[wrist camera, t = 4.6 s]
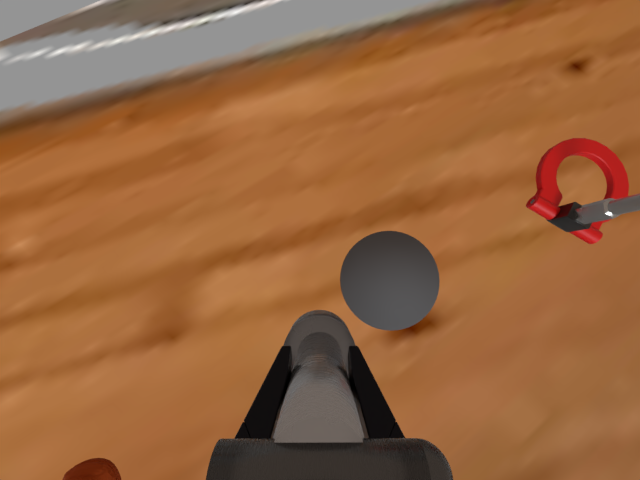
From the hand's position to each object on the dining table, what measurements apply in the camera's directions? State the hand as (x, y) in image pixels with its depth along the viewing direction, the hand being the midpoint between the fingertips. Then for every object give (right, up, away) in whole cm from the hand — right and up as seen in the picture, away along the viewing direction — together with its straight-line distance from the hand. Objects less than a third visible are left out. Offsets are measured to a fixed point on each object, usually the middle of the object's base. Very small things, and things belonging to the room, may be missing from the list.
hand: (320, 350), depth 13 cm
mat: (+6, +1, +14) cm, 15 cm away
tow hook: (+24, +10, +15) cm, 30 cm away
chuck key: (0, -2, +7) cm, 7 cm away
